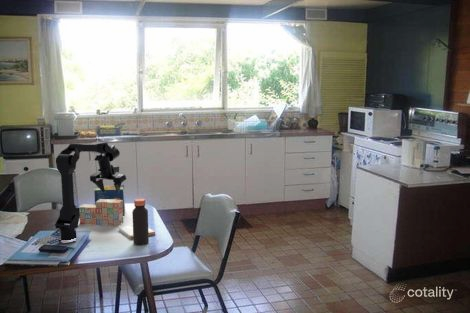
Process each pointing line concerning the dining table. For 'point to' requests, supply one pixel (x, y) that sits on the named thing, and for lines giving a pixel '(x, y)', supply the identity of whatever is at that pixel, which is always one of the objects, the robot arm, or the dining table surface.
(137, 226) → the vinegar
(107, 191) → the protein box
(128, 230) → the white flat block
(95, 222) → the stack of blocks
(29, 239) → the dining table surface
